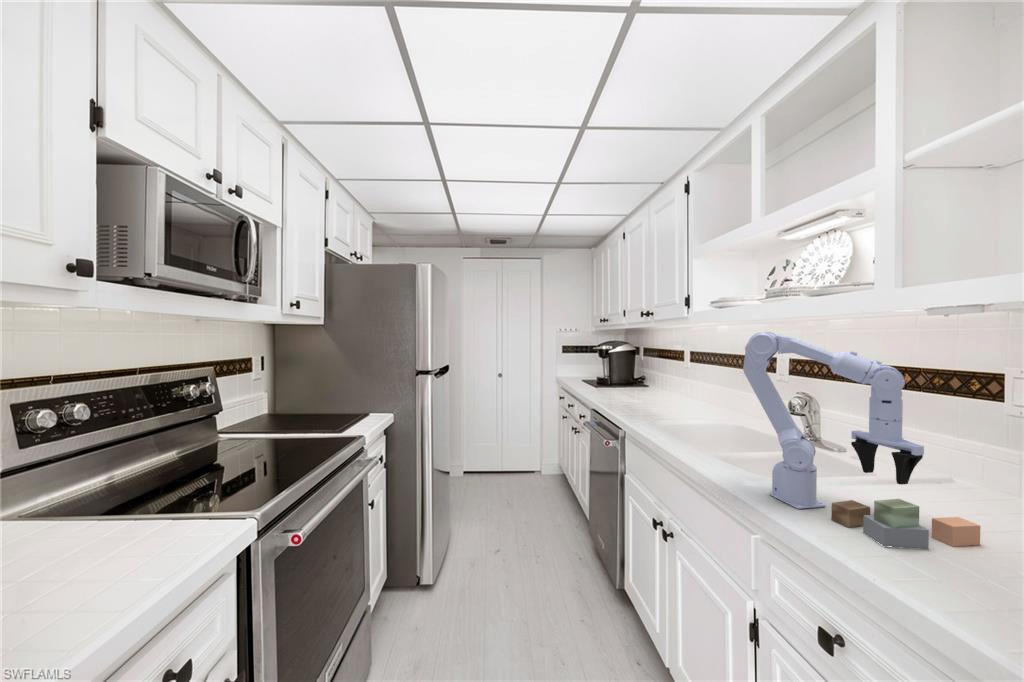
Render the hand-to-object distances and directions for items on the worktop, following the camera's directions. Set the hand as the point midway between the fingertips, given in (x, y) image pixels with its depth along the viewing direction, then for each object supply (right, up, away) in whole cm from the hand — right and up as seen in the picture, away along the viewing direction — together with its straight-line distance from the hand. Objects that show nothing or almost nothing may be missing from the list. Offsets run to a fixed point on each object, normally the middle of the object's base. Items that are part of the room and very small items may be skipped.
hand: (884, 477), depth 97 cm
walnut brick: (-9, -10, -1) cm, 13 cm away
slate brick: (-6, -10, -10) cm, 15 cm away
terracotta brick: (+6, -10, -10) cm, 15 cm away
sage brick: (-6, -6, -10) cm, 13 cm away
